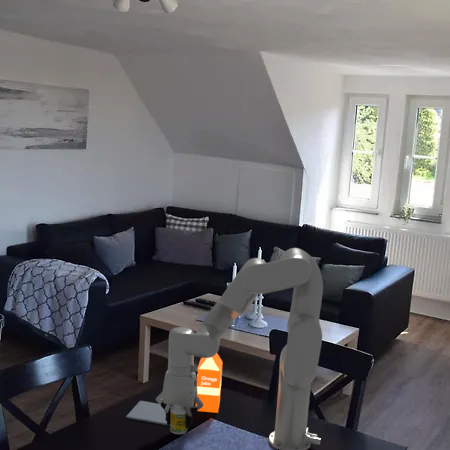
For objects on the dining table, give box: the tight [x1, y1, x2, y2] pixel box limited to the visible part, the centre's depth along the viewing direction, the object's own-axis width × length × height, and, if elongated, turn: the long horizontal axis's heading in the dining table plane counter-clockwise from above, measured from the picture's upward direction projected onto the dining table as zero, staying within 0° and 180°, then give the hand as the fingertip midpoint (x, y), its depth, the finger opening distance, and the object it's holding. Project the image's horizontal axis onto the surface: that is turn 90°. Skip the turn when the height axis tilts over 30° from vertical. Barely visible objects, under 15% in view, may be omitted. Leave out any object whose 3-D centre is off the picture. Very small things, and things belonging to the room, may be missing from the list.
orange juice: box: [195, 352, 223, 414], centre depth 213 cm, size 8×9×20 cm
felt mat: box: [125, 400, 173, 427], centre depth 206 cm, size 16×12×1 cm
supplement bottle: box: [169, 405, 188, 435], centre depth 193 cm, size 5×5×10 cm
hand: (178, 424), depth 194 cm, fingers closed on supplement bottle, 5 cm apart
